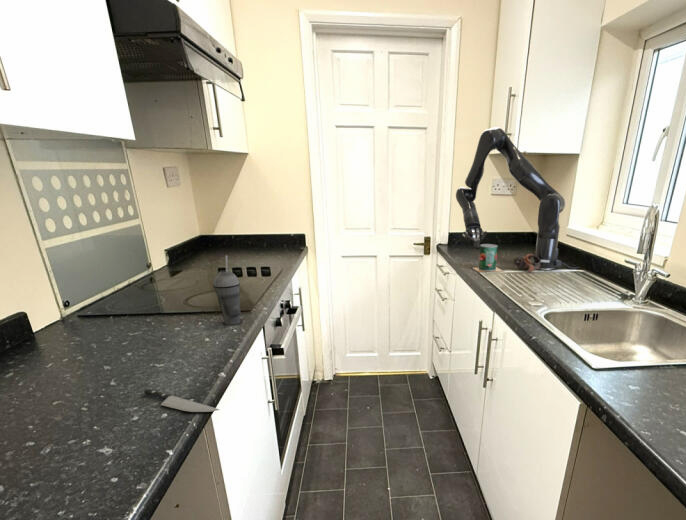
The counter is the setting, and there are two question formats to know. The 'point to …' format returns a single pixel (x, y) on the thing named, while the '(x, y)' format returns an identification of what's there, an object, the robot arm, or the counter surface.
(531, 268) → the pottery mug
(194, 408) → the chef's knife
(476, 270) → the trivet
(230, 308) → the beverage cup
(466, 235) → the robot arm
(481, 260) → the canned tomato
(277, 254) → the counter surface
